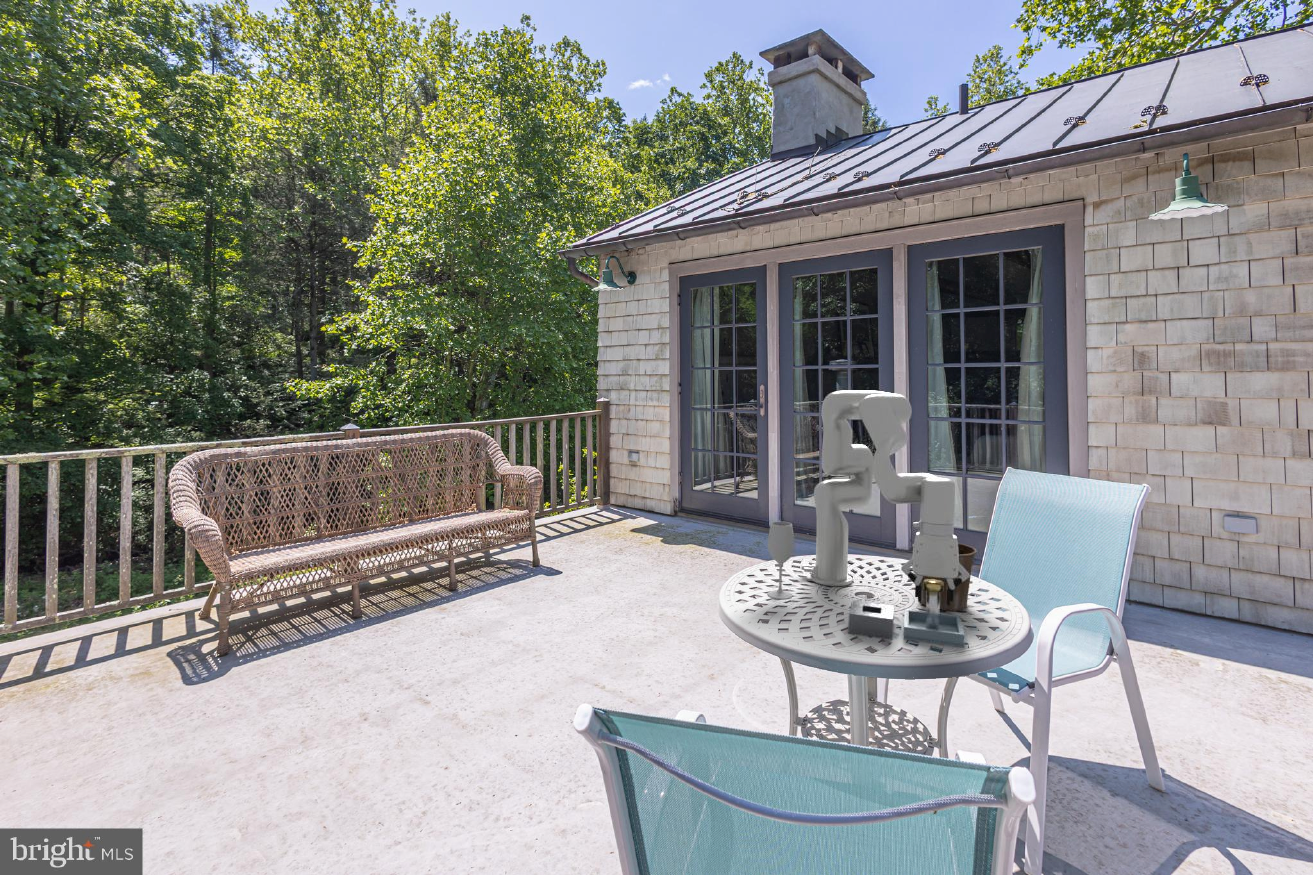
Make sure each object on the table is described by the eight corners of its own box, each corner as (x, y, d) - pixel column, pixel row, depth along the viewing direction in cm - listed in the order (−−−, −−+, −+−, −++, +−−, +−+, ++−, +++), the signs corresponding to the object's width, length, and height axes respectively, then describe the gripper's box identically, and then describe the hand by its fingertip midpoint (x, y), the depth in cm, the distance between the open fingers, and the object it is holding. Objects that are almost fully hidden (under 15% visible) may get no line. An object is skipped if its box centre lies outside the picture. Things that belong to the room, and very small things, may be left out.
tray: (903, 638, 149) (903, 626, 149) (904, 620, 161) (904, 609, 161) (963, 647, 144) (964, 635, 144) (959, 627, 156) (960, 616, 156)
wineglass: (778, 601, 176) (779, 527, 174) (761, 593, 183) (762, 522, 181) (799, 596, 179) (800, 524, 178) (782, 589, 186) (783, 519, 184)
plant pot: (897, 598, 178) (899, 542, 177) (940, 591, 184) (942, 537, 183) (942, 617, 163) (945, 557, 162) (987, 609, 169) (990, 551, 168)
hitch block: (848, 633, 153) (849, 613, 152) (852, 619, 162) (852, 600, 162) (892, 639, 149) (892, 619, 149) (893, 625, 158) (893, 605, 158)
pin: (922, 631, 152) (923, 583, 151) (922, 625, 156) (923, 578, 155) (942, 634, 150) (943, 585, 149) (941, 628, 154) (943, 580, 153)
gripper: (897, 529, 151) (895, 602, 152) (977, 535, 144) (974, 611, 146) (898, 522, 158) (896, 592, 159) (974, 528, 151) (971, 601, 153)
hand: (933, 601), depth 152 cm, fingers open, 5 cm apart
